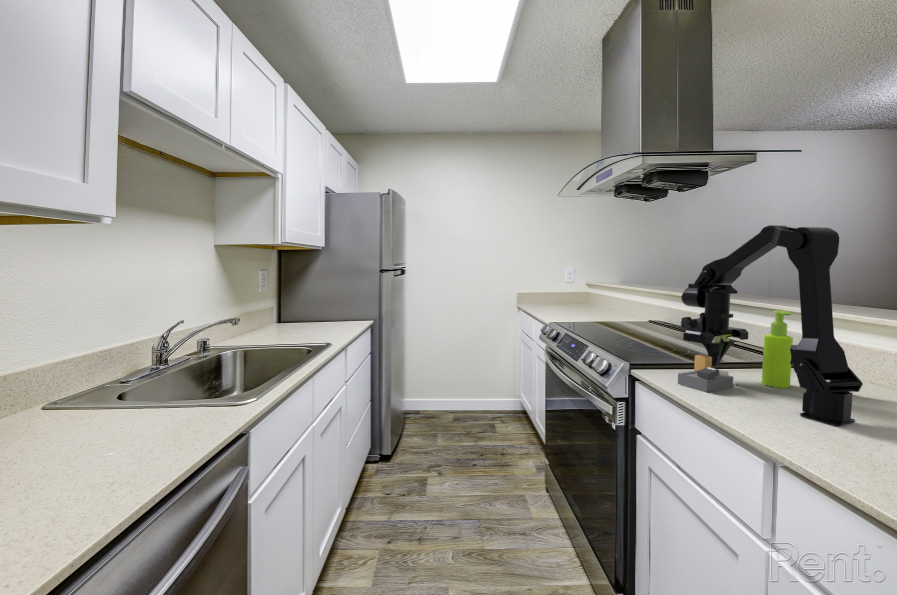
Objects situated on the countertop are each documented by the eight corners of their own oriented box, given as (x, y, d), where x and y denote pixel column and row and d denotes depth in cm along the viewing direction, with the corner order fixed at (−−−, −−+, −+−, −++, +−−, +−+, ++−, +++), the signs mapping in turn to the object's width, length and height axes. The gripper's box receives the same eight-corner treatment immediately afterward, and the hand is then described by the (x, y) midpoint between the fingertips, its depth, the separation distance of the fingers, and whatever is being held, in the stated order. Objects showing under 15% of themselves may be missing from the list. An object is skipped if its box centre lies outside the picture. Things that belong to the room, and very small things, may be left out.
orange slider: (711, 371, 109) (711, 355, 109) (704, 372, 108) (705, 356, 108) (700, 369, 112) (701, 353, 112) (694, 370, 111) (694, 354, 111)
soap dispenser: (769, 388, 105) (773, 311, 104) (757, 381, 112) (761, 309, 110) (796, 390, 103) (801, 312, 102) (783, 383, 110) (787, 309, 109)
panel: (732, 387, 105) (733, 371, 105) (706, 392, 102) (707, 375, 101) (703, 380, 113) (703, 365, 113) (677, 383, 109) (678, 368, 109)
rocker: (719, 374, 103) (719, 369, 103) (708, 379, 102) (708, 373, 101) (707, 372, 106) (707, 366, 106) (697, 376, 104) (696, 370, 104)
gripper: (711, 306, 122) (709, 357, 123) (666, 308, 115) (664, 362, 116) (750, 309, 112) (748, 365, 113) (704, 312, 104) (701, 371, 106)
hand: (714, 365), depth 112 cm, fingers closed
